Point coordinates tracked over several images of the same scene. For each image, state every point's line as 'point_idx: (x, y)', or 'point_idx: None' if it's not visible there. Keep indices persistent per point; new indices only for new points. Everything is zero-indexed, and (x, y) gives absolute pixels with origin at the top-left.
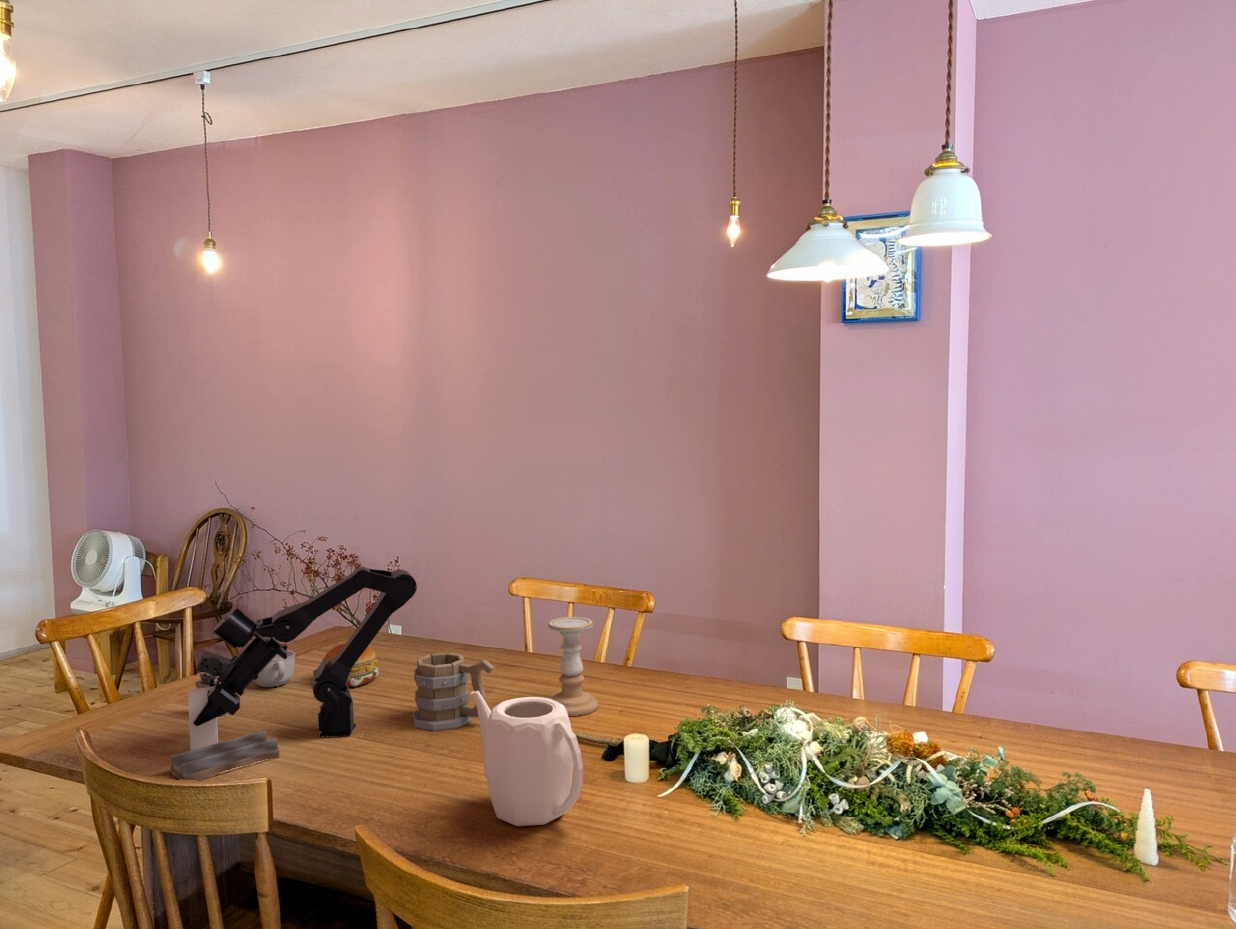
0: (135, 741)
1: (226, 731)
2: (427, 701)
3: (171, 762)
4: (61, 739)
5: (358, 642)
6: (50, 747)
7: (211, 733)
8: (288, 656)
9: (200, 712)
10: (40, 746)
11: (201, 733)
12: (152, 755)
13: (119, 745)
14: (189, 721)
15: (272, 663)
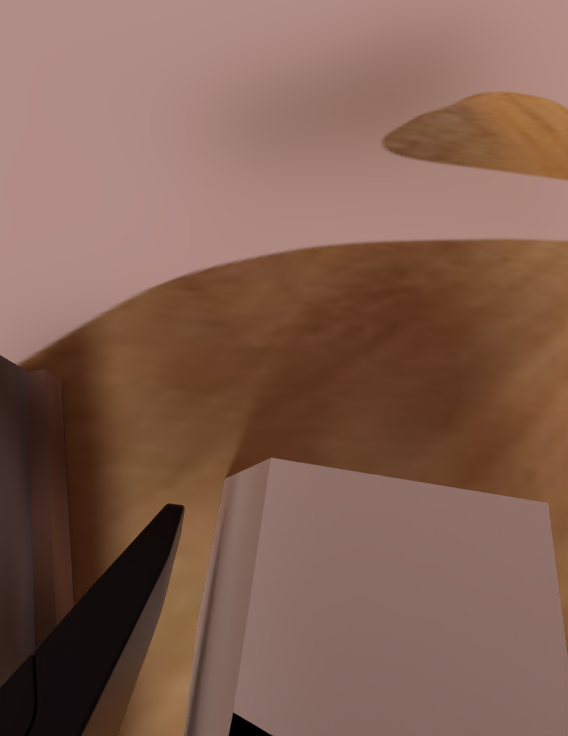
0: (478, 314)
1: None
2: None
3: (16, 365)
4: (554, 171)
5: None
6: (506, 145)
7: (200, 623)
8: None
9: (90, 610)
10: (520, 133)
11: (214, 552)
12: (314, 342)
13: (460, 271)
14: (232, 476)
15: None
